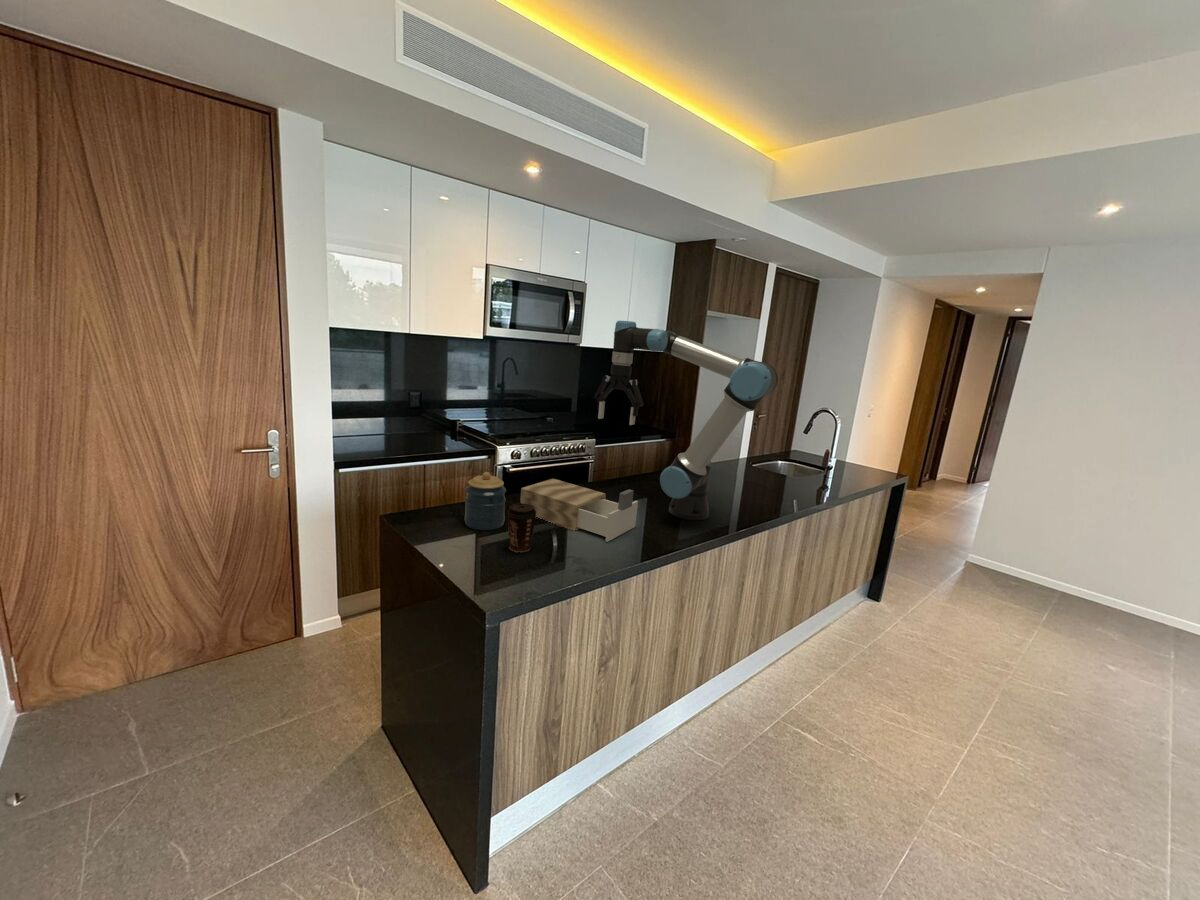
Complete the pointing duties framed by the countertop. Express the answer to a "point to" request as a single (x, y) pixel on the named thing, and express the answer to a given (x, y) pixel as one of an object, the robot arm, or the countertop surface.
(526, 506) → the coffee cup
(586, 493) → the mailer sleeve
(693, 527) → the countertop surface
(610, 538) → the tray
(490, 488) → the canister
